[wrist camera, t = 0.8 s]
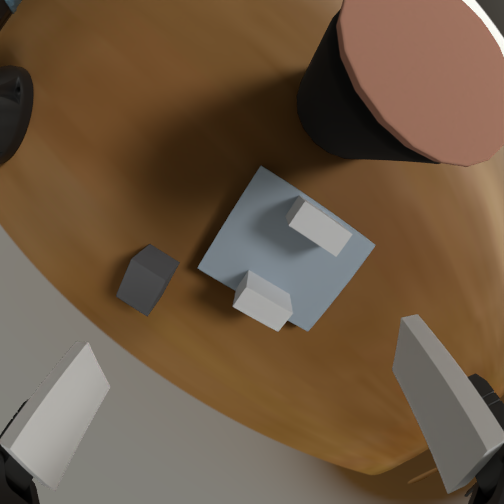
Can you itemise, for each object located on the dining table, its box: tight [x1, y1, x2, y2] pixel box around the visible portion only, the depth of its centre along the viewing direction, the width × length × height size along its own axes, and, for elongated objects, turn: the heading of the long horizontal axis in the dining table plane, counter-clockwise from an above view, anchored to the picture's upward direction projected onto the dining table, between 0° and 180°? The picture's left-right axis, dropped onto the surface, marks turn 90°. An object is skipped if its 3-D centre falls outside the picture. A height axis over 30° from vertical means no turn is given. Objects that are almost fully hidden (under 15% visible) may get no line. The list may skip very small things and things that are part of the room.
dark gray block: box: [116, 244, 180, 316], centre depth 29 cm, size 4×5×5 cm
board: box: [198, 166, 375, 331], centre depth 27 cm, size 14×12×6 cm
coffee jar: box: [297, 0, 504, 167], centre depth 17 cm, size 11×11×18 cm
